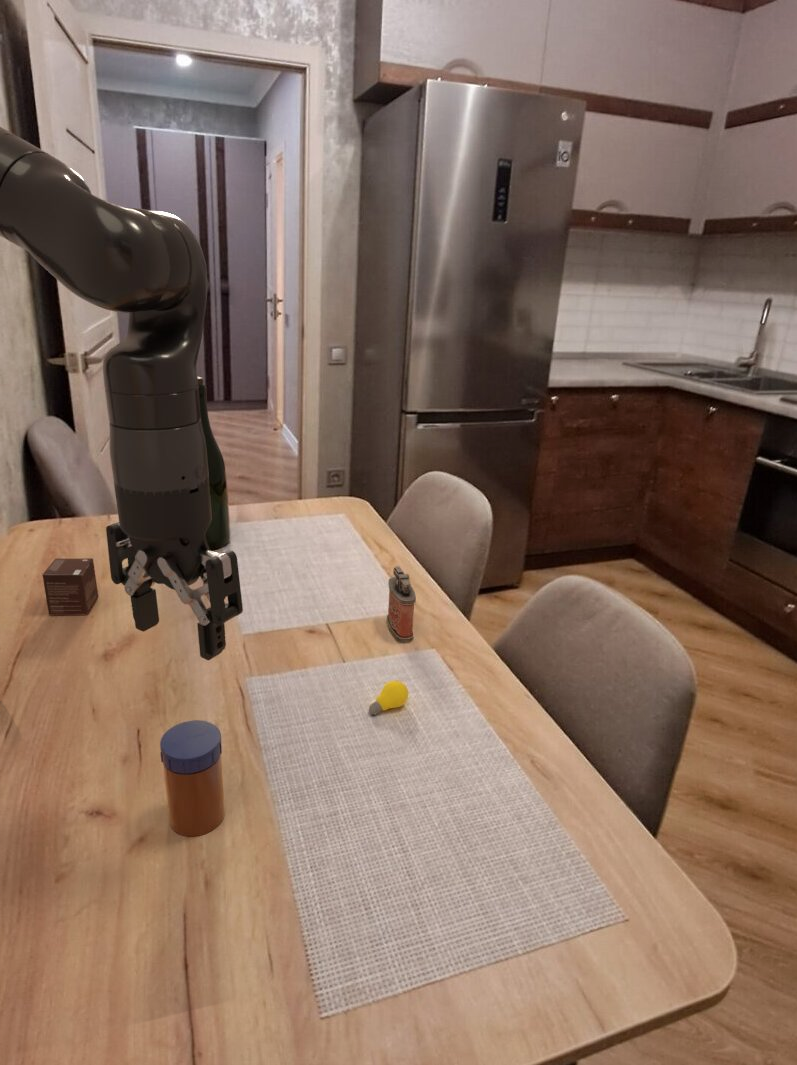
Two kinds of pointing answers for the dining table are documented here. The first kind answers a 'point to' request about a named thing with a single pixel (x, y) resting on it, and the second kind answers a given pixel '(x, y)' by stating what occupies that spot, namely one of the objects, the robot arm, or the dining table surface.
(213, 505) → the dark green wine bottle
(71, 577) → the box
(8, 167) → the robot arm
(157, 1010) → the dining table surface
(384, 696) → the light bulb
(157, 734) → the dining table surface
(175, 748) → the jam lid
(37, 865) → the dining table surface
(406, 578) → the lighter
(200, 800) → the jam jar
